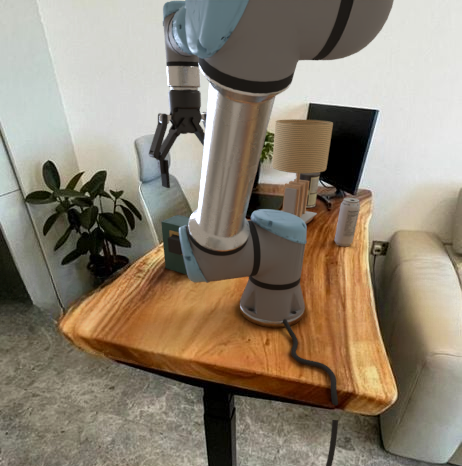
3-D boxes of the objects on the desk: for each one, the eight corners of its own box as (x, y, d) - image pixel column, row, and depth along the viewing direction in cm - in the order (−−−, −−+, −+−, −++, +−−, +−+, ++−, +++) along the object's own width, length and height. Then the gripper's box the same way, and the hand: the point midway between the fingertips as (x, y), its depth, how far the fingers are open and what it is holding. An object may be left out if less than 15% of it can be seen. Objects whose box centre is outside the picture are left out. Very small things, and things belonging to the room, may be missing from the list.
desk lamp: (307, 233, 128) (321, 125, 110) (259, 223, 137) (265, 121, 118) (325, 219, 142) (340, 121, 124) (280, 210, 151) (289, 118, 133)
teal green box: (198, 279, 97) (196, 230, 90) (164, 268, 102) (160, 221, 95) (213, 269, 102) (212, 222, 95) (180, 259, 107) (177, 214, 100)
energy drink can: (345, 239, 124) (353, 196, 116) (355, 245, 119) (365, 201, 111) (330, 241, 122) (337, 197, 114) (340, 247, 117) (349, 203, 109)
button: (180, 255, 93) (179, 241, 91) (168, 251, 95) (167, 237, 93) (191, 248, 97) (190, 235, 95) (180, 245, 99) (179, 232, 97)
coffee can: (296, 208, 154) (299, 174, 147) (290, 201, 163) (293, 169, 156) (318, 207, 156) (323, 174, 148) (311, 201, 164) (315, 169, 157)
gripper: (217, 89, 91) (218, 175, 102) (126, 88, 77) (138, 187, 88) (236, 89, 86) (234, 179, 97) (142, 88, 72) (152, 193, 83)
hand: (188, 183), depth 92 cm, fingers open, 13 cm apart
